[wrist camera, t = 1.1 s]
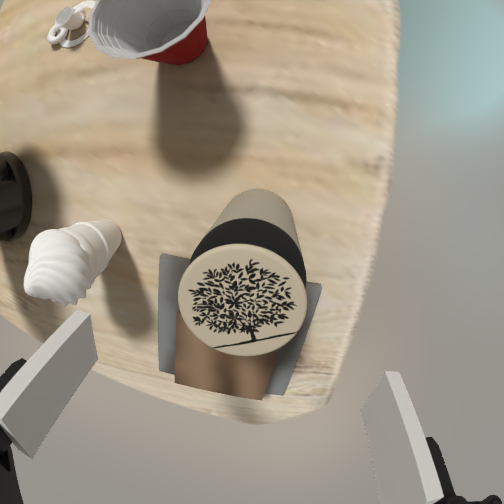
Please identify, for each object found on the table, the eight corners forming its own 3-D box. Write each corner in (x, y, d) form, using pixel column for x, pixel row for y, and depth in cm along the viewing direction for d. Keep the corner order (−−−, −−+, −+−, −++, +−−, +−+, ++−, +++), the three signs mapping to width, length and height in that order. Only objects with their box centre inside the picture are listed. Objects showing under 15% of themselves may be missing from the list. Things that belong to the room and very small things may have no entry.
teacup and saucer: (49, 49, 26) (32, 45, 22) (67, 5, 23) (52, -2, 19) (89, 47, 26) (72, 41, 22) (110, -1, 23) (96, -11, 19)
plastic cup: (244, 64, 26) (228, 22, 15) (155, 99, 28) (99, 82, 17) (216, -6, 23) (191, -59, 12) (134, 30, 25) (81, -4, 14)
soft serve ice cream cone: (125, 197, 33) (38, 239, 18) (143, 259, 36) (75, 329, 21) (78, 211, 34) (-7, 254, 19) (95, 267, 37) (25, 328, 22)
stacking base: (161, 366, 42) (149, 392, 37) (162, 253, 35) (143, 273, 30) (283, 391, 42) (283, 419, 37) (320, 284, 35) (328, 309, 29)
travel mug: (217, 194, 32) (157, 250, 15) (288, 184, 31) (306, 232, 14) (229, 259, 35) (192, 362, 18) (296, 252, 34) (314, 354, 17)
